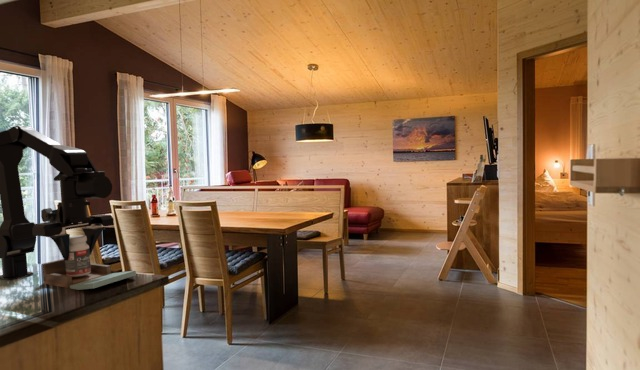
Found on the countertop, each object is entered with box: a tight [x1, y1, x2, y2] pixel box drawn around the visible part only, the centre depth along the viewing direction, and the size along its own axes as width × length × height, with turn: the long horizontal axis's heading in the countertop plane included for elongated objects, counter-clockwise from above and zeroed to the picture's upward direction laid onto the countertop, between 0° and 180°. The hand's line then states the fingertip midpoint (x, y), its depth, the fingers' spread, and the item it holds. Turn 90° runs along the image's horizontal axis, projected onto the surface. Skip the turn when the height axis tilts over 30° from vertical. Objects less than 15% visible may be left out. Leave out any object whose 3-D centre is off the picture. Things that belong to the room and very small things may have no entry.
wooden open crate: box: [41, 258, 112, 289], centre depth 113 cm, size 10×12×6 cm
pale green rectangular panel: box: [69, 270, 137, 291], centre depth 108 cm, size 1×12×9 cm
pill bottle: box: [65, 234, 92, 277], centre depth 112 cm, size 6×6×10 cm
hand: (77, 257), depth 112 cm, fingers open, 6 cm apart
